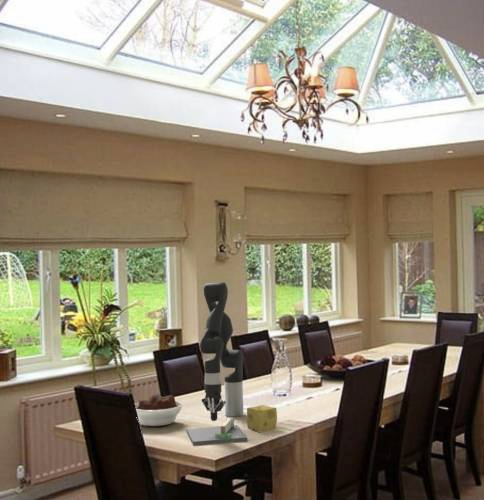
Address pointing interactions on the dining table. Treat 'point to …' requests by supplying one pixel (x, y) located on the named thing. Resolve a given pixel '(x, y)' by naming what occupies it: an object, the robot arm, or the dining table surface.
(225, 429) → the beige wooden bar
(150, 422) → the bowl of brownies
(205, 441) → the grey square slab
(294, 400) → the dining table surface
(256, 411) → the cheese
